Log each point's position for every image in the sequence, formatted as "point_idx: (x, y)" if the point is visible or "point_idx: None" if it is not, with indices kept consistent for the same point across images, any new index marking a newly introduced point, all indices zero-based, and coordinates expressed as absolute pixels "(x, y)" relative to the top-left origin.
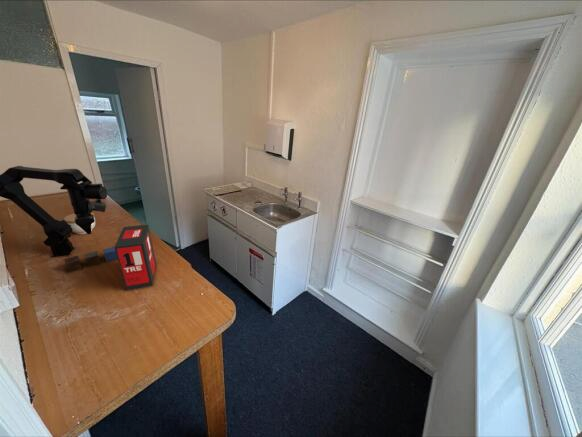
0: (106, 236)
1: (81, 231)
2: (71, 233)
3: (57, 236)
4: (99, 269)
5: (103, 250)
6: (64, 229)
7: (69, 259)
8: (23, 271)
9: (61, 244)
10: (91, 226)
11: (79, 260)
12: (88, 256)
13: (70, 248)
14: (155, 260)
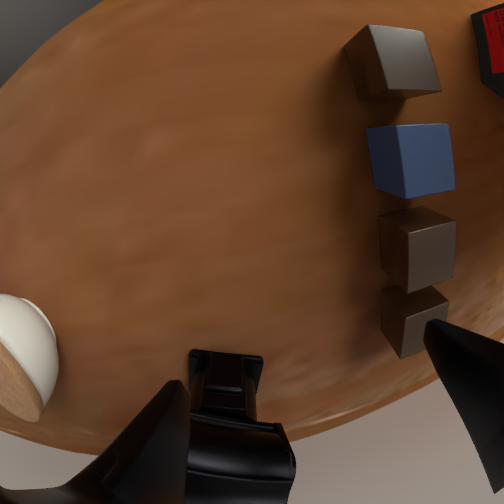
0: (80, 220)
1: (53, 342)
2: (193, 421)
3: (293, 468)
4: (461, 207)
5: (423, 193)
6: (256, 484)
7: (418, 340)
8: (322, 423)
9: (252, 414)
10: (18, 310)
11: (416, 300)
12: (443, 266)
13: (242, 368)
14: (480, 12)
